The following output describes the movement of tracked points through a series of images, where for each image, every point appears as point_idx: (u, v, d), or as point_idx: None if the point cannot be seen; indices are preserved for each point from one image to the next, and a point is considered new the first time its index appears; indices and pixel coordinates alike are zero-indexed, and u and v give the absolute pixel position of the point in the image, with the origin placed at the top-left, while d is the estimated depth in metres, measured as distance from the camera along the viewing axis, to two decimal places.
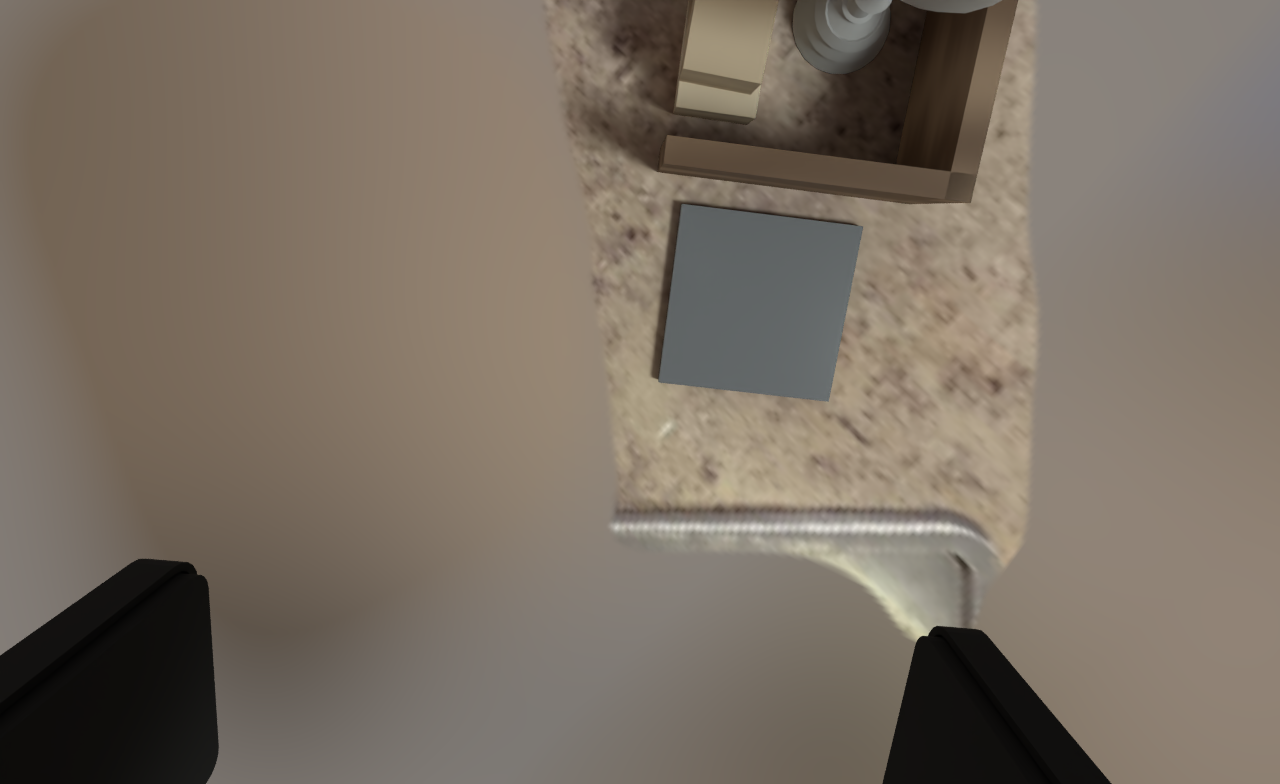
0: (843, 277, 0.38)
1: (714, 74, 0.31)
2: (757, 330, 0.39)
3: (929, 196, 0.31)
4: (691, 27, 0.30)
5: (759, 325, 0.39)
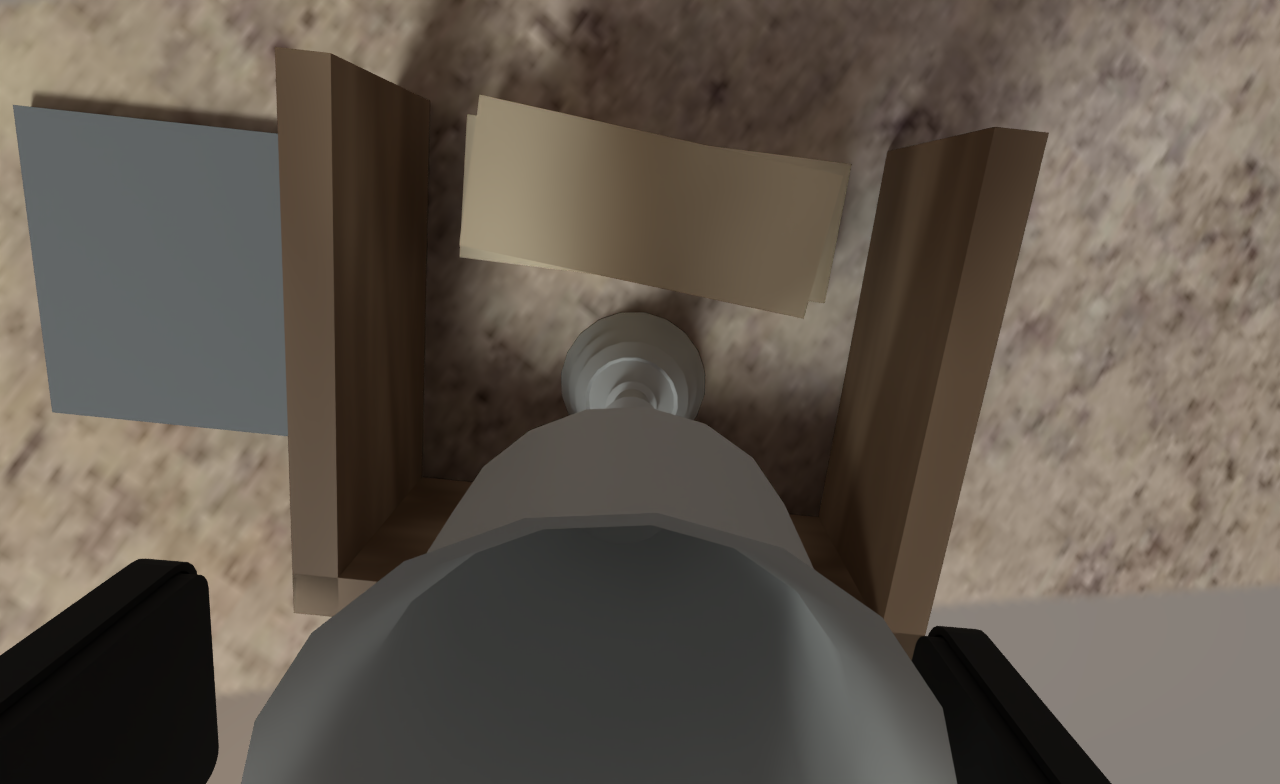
0: (258, 418, 0.24)
1: (472, 157, 0.17)
2: (146, 284, 0.23)
3: (293, 549, 0.18)
4: (549, 112, 0.16)
5: (155, 287, 0.23)
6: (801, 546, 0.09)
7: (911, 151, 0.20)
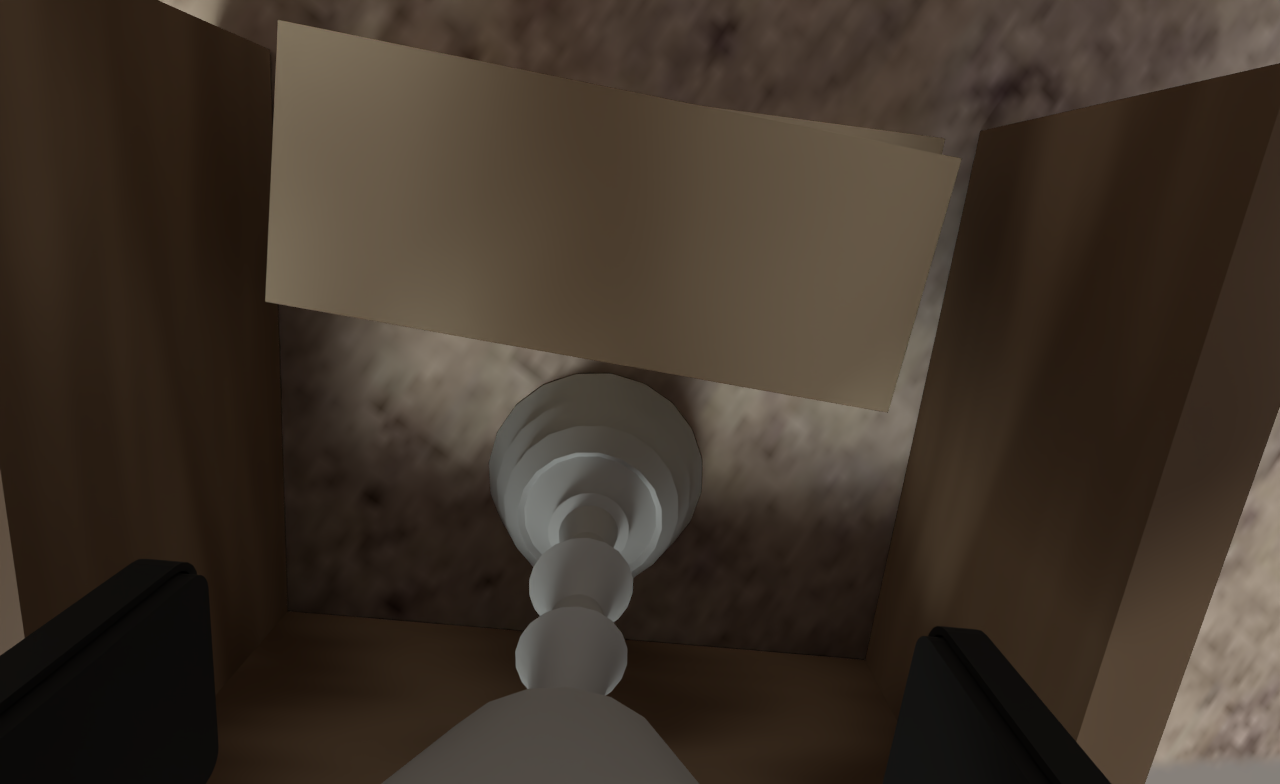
0: None
1: (276, 140, 0.09)
2: None
3: None
4: (414, 52, 0.09)
5: None
6: None
7: (1036, 128, 0.12)
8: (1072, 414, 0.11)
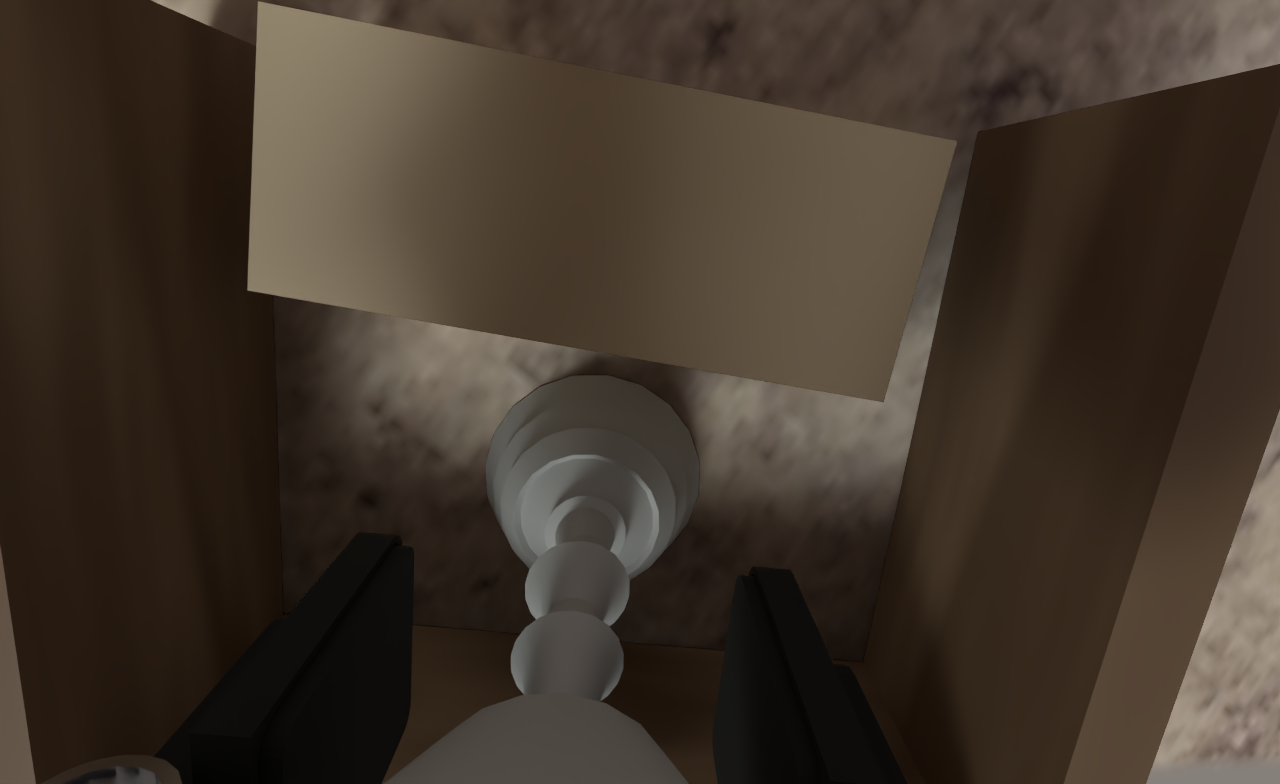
0: None
1: (257, 125, 0.09)
2: None
3: None
4: (397, 34, 0.09)
5: None
6: None
7: (1034, 129, 0.12)
8: (1071, 416, 0.10)
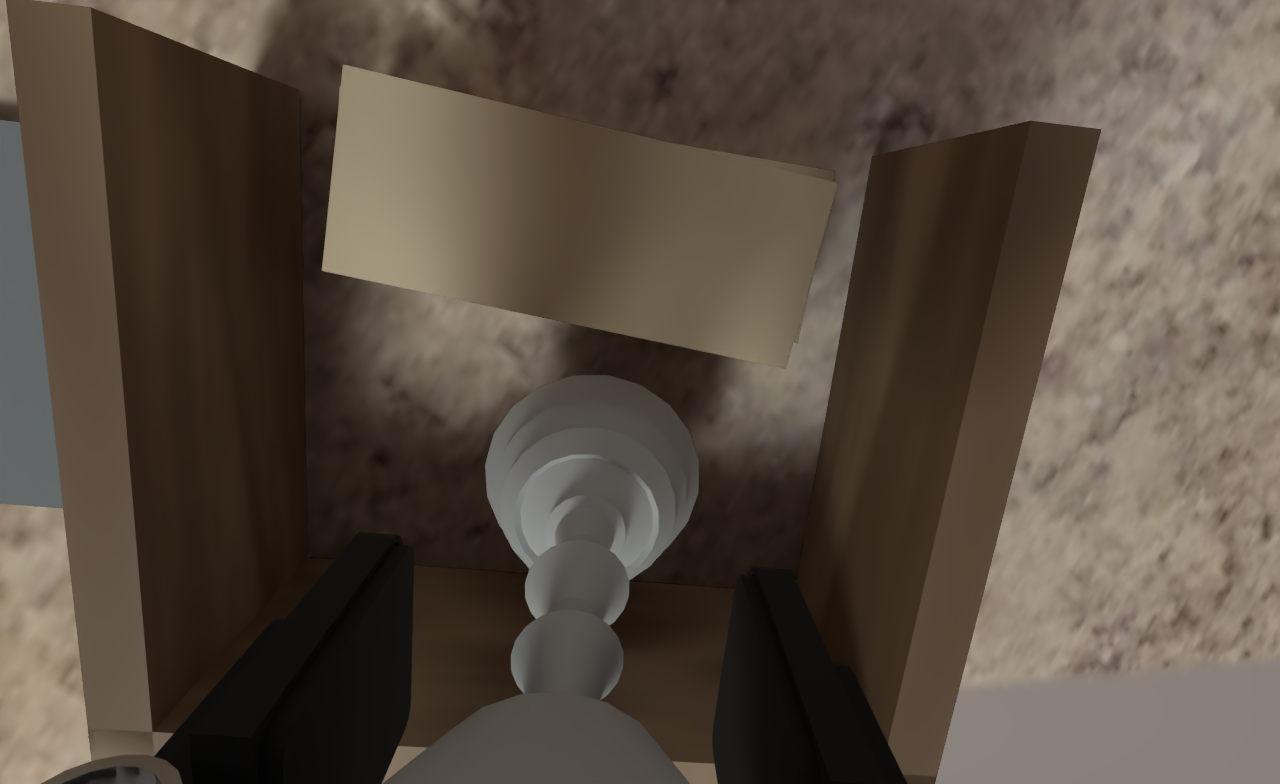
0: None
1: (336, 151, 0.12)
2: None
3: (87, 696, 0.13)
4: (441, 91, 0.12)
5: None
6: None
7: (904, 156, 0.16)
8: (920, 373, 0.14)
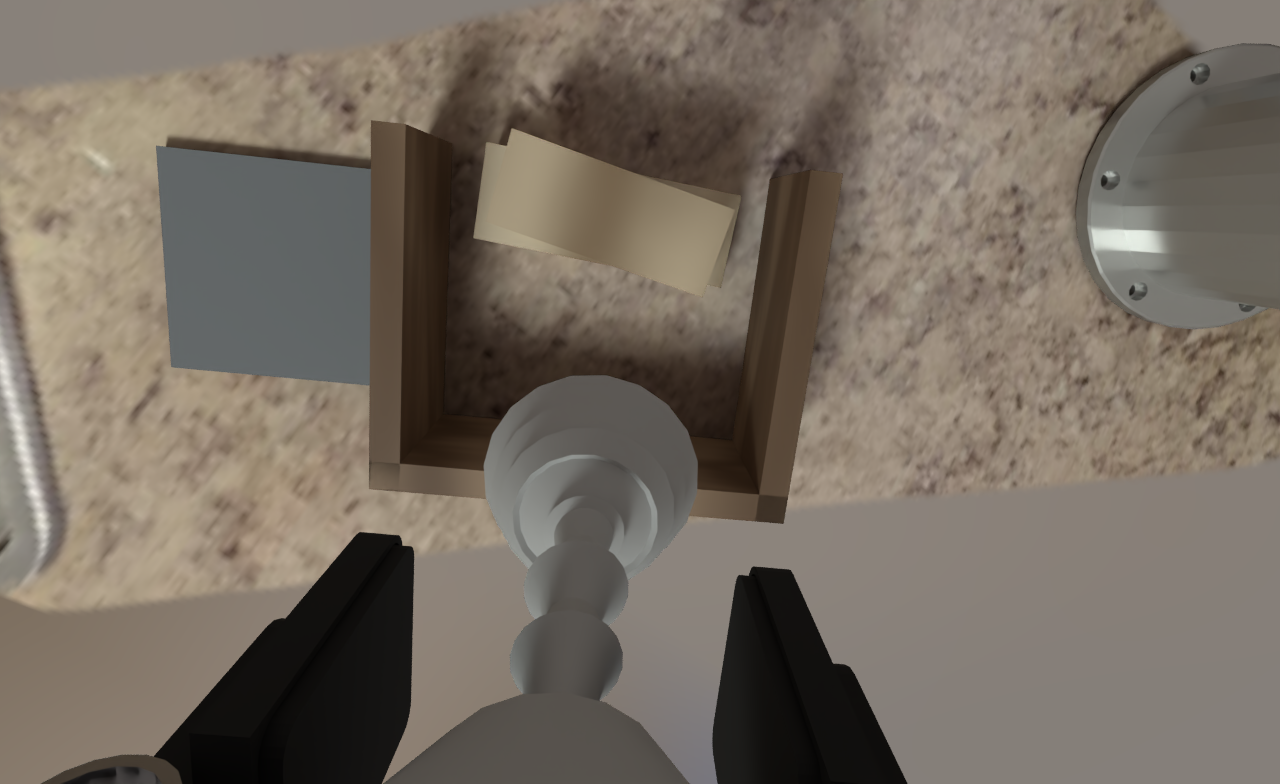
0: (324, 370, 0.33)
1: (501, 166, 0.26)
2: (246, 273, 0.32)
3: (370, 444, 0.27)
4: (555, 145, 0.26)
5: (252, 275, 0.32)
6: None
7: (779, 180, 0.30)
8: (779, 291, 0.28)
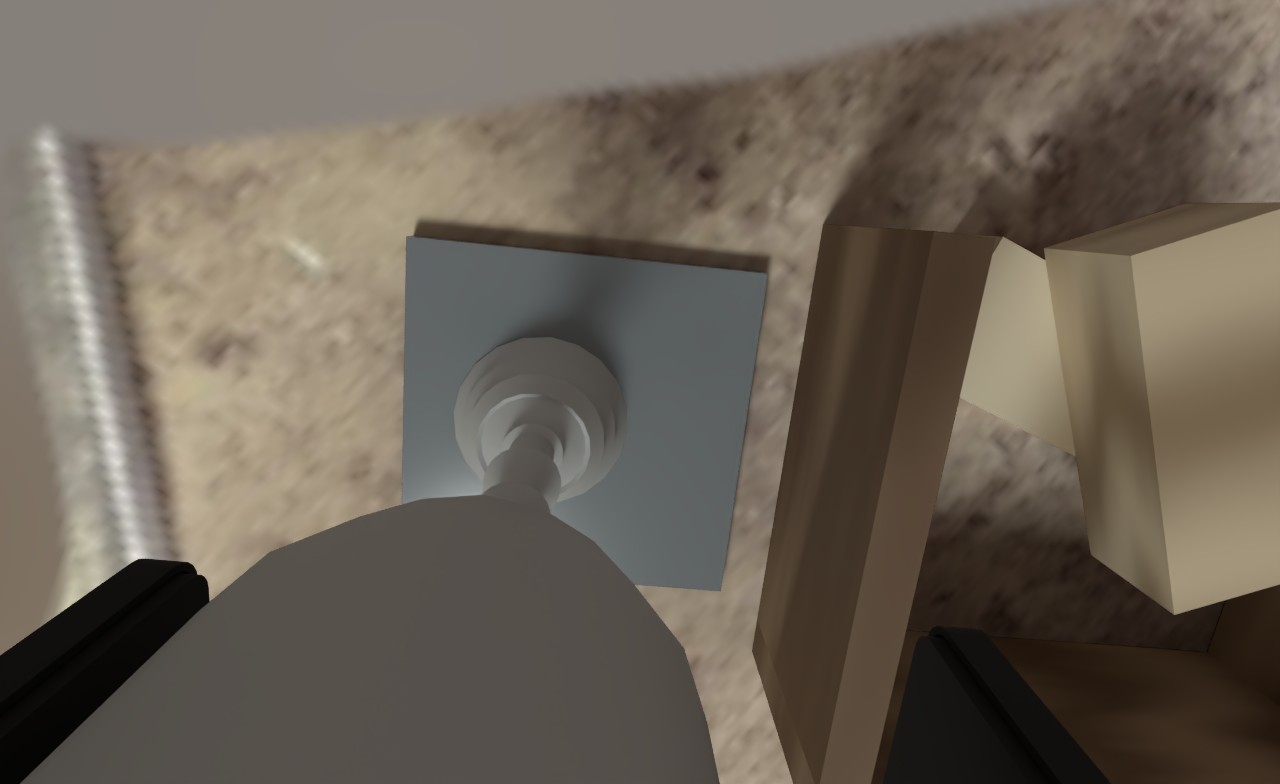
0: (633, 569, 0.21)
1: (1230, 224, 0.14)
2: None
3: (824, 767, 0.16)
4: None
5: None
6: (696, 760, 0.05)
7: None
8: None
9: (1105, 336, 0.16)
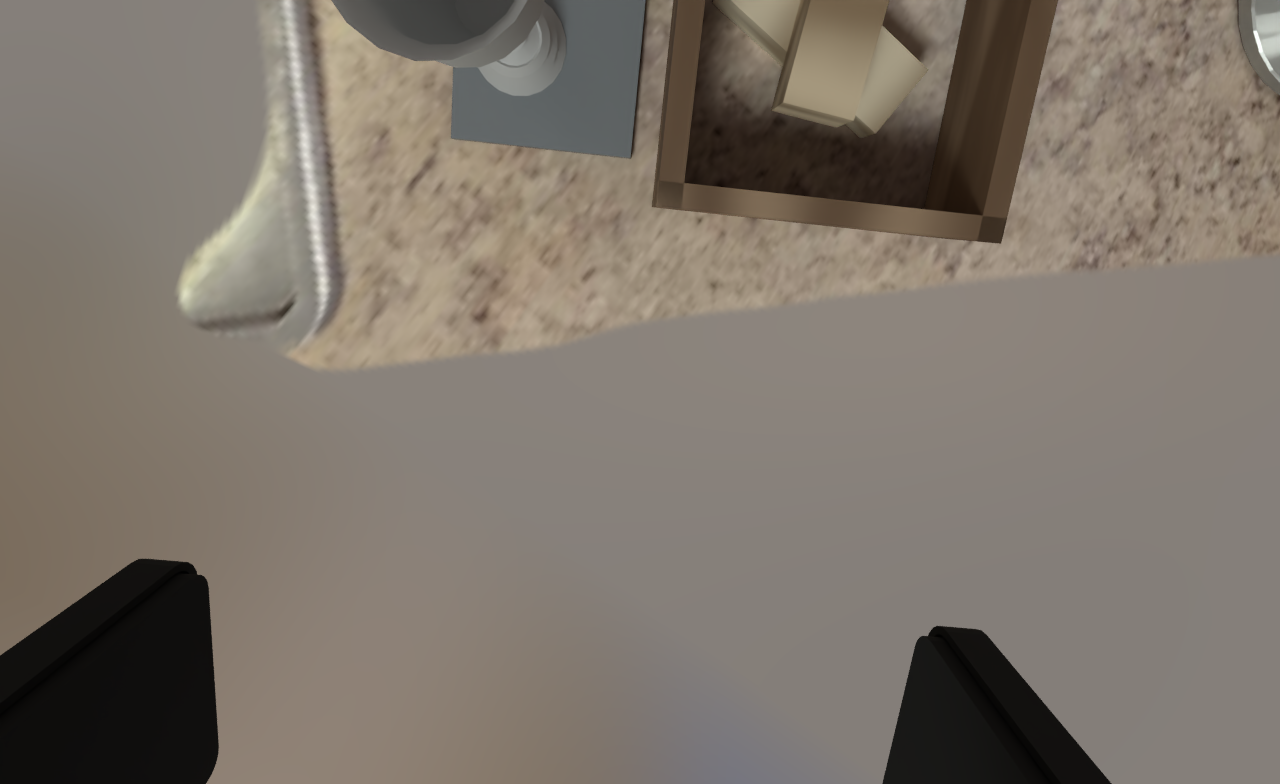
0: (580, 142, 0.38)
1: None
2: None
3: (661, 164, 0.32)
4: None
5: None
6: None
7: None
8: (1001, 42, 0.33)
9: None
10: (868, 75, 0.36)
